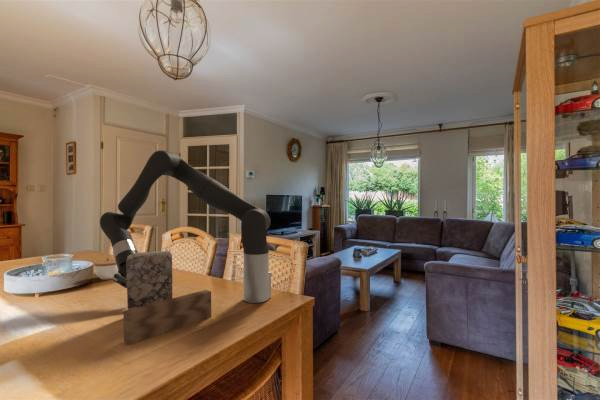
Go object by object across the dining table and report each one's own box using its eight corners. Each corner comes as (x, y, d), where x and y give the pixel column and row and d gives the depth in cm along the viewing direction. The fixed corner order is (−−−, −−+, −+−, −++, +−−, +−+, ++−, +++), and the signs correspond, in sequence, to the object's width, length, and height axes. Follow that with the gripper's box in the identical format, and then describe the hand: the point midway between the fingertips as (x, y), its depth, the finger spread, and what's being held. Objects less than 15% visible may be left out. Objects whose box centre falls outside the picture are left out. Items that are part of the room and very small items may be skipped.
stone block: (126, 323, 90) (125, 256, 90) (127, 315, 96) (127, 253, 96) (174, 314, 96) (173, 252, 96) (172, 307, 102) (171, 249, 102)
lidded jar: (118, 273, 149) (118, 254, 149) (123, 277, 141) (123, 258, 141) (92, 277, 141) (92, 257, 141) (96, 282, 133) (96, 261, 133)
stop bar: (206, 314, 96) (206, 289, 96) (211, 316, 94) (211, 291, 94) (123, 341, 78) (123, 311, 78) (127, 345, 76) (127, 314, 76)
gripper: (108, 251, 104) (120, 293, 96) (147, 246, 114) (162, 284, 105) (103, 264, 107) (115, 306, 99) (142, 258, 117) (156, 296, 109)
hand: (139, 295), depth 102 cm, fingers closed
